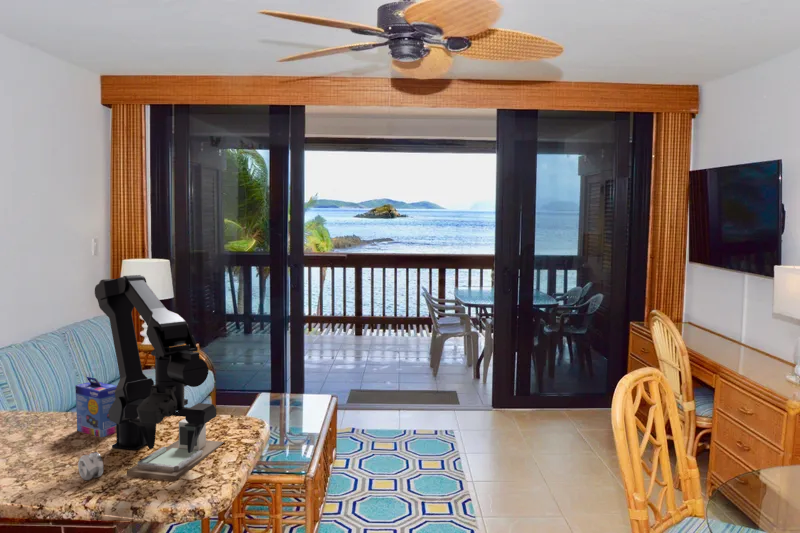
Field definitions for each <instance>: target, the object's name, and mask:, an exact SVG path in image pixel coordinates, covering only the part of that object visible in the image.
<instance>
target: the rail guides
mask: <svg viewBox="0 0 800 533" xmlns="http://www.w3.org/2000/svg"><path fill="white" fill-rule="evenodd" d="M166 447H167V446H162V447H160V448H159V449H157V450H155V451H154V452H153V451H152V452H151V453H150V454H148V455H146V457H144V458H141V459H140V460H139V461H137V465H138V467H139V468H141V469H150V470H160V471H170V472H174V471H180V470H181V469H183V468H184V467H186V466H187V465H189V464H190V463H191V462H193V461H194V460H196V459H197V458H199V457H200V456H202V450H199V451H197V452H196V453H194V454H193V455H191V456H190V457H188V458H187V459H185V460H184V461H182V462H181V463H179V464H178V465H176V466H175V465H165V464H155V463H148V462H150V461H152V460H153V459H155V458H157V457H158V456H160V455H162V454H163V453H165V452H166Z"/></svg>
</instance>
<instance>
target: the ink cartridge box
mask: <svg viewBox="0 0 800 533" xmlns="http://www.w3.org/2000/svg"><path fill="white" fill-rule="evenodd" d="M86 379H87V381H88V382H84V383H79V384H76V385H75V387H74V388H75V405H76V406H75V410H76V411H75V413H76V430H77V432H80V433H84V434H86V435H87V434H88V435H91V436H95V437H98V438H104V437H107V436H110V435H113V434H116V423H114V422H112V421H110V419H109V413H108V411H109V409H110V408H111V406H112V404H113V402H114V401H115V390H116V387H117V385H115V384H111V383H104V382H103V381H102V382H101V381H98V379H97V378H96V377H91V376H86Z"/></svg>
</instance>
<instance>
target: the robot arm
mask: <svg viewBox="0 0 800 533" xmlns="http://www.w3.org/2000/svg"><path fill="white" fill-rule="evenodd" d="M146 279H147V278H146V277H145V276H144V275H141V274H136V275H135V274H133V275H123V276H121V277H118V278H108V279H101V280H100V281H99V282H98V284H96V285H95V287H94V296H95V298H96V300H97V303H98V307H99V309H100V310H101V311H102V312H103V313H104V314H105V315H106V316H107V317H108V319H109V326H110V329H111V334H112V341H113V345H114V352H115V357H116V362H117V369H118V374H119V381H118V382H117V385H116V386H117V387H116V390H115V401H114V402H113V404H112V406H111V408H110V409H109V411H108V413H109V419H110V421H112V422H114V423H116V433H115V434H116V436H115V437H116V443H113V444H112V445H111V448H112V449H121V450H123V449H124V450H134V451H135V450H136V451H137V450H138V449H141V448H143V447H144V446H147V447H148V450H153V449H154V448H155V442H156V434H157V431H156V430H157V424H160V423H162V422H163V421H164V419H165V417H166V418H171V417H172V416H173V417H185V418H184V419H185V420H186V421H187V422H188V423H187V424H185V427H186V429H187V430H188V440H187V448H188V453H191V452H192V451H193V449H194V446H195V444H196V442H197V439H198V437H199V435H200V432H201V430H202V429H203V427H204V425H205V423H206V424H207V423H208V422H210V421H211V420H213V419H215V418H216V417H217V408H216V406H215V405H214V404H213V403H201V402H198V403H196V404H194V405H192V406H191V407H186V405H188V404H189V399H187V398H185V387H192V388H197V387H199V386H201V385H202V384H204V382H205V381H206V380H207V378H208V375H209V367H208V364H207V363H206V361H205V360H203V359H202V358H200V352H199V351H198V347H197V346H198V345H197V343H198V342H197V341H196V339H195V336H194V335H193V334H192V331H191V328H190V326H189V324H188V323H187V321H186V320H185V319H184V318H183V317H182V316H181V315H179V313H176V312H173V311H171V310H168V309H167V308H166V307H165V305H164V304H163V303H162V302H161V300H160V299H159V298H158V297H157V295H156V294H155V293H154V291H153V290H152V289H151V287H150V286H149V285H148V283H147V280H146ZM134 308H135V310H136V311H137V313H138V314H139V315H140V316H141V318H142V319H143V320H144V322H145V324H146V326H147V328H146V332H145V335H146V336H147V338H148V340H149V343H150V344H151V346H152V348H153V349H152V351H151V352H150V355H151V356H153V357H154V363H155V366H154V367H155V368H154V369H155V370H154V371H155V375H154V376H155V380H153V378H151V377H150V378H149V377H147V375H146V374H144V371H143V367H142V363H141V357H140V352H139V347H138V340H137V337H136V336H137V334H136V330H135V324H134V320H133V313H132V312H133V310H134ZM154 381H155V382H154Z"/></svg>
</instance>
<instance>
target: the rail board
mask: <svg viewBox="0 0 800 533" xmlns="http://www.w3.org/2000/svg"><path fill="white" fill-rule="evenodd" d="M223 443H224V444H225V441H218V440H216V441H215V440H207V439H206V446H204V447H203V448H201V449H200V450H202V456H200V457H199V458H197V459H196V460H194V461H193V462H191V463H190V464H189V465H187V466H186V467H184V468H183V469H181V470H180V471H174V472H170V471H160V470H150V469H141V468H139V467H138V464H136V465H134V466H133V467H131V468H130V469H127V470H126V477H134V478H145V479H155V480H163V481H164V480H166V481H177V480H179V479H180V478H181V477H182V476H184V475H185V474H186V473H187V472H189V471H190V470H191V469H193V467H196V465H199V463H200V462H202V461H203V460H204V459H205V458H207V457H208V456H209V454H210V455H211V454H212V453H213V452H215V451H216V450H217V449H219V448H220V447H222V444H223ZM224 444H223V445H224ZM219 446H220V447H219ZM165 447H166V452H165V453H163V454H162V455H160V456H158V457H157V458H155V459H153V460H152V461H150V462H148V463H155V464H165V465H175V466H176V465H178V464H179V463H181V462H182V461H184V460H185V459H187V458H188V457H190V456H191V455H193V454H194V453H196V452H197V451H199V450H193V451H192V452H191V453H188V449H183V448H179V439H178V440H176V441H175V442H173V443H172V444H171V443H170V445H168V446H165ZM218 447H219V448H218ZM214 450H215V451H214Z"/></svg>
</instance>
